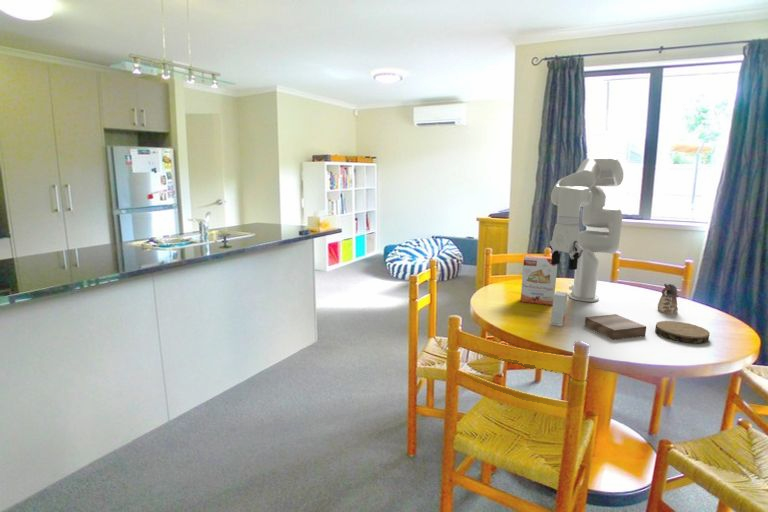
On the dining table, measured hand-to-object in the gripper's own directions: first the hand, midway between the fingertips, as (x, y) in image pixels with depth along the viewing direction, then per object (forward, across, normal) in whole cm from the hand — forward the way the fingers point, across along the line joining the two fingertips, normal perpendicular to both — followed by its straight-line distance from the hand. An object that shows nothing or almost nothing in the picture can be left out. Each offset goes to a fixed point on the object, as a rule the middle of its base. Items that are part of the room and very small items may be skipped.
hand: (563, 266), depth 161 cm
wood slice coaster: (+23, +22, +35) cm, 47 cm away
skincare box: (+23, 0, 0) cm, 23 cm away
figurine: (+22, -1, +55) cm, 59 cm away
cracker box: (+23, -26, +9) cm, 36 cm away
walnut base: (+23, +12, +15) cm, 30 cm away
